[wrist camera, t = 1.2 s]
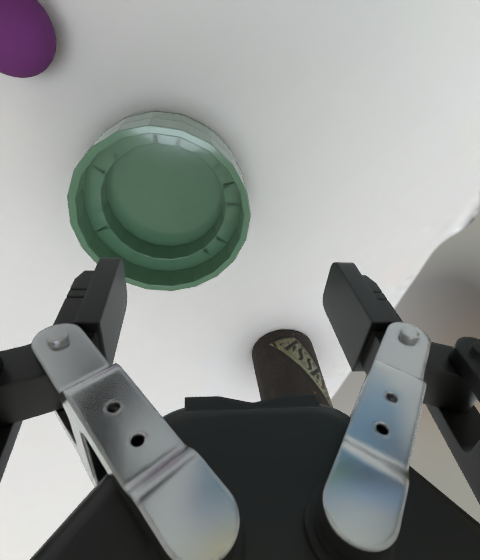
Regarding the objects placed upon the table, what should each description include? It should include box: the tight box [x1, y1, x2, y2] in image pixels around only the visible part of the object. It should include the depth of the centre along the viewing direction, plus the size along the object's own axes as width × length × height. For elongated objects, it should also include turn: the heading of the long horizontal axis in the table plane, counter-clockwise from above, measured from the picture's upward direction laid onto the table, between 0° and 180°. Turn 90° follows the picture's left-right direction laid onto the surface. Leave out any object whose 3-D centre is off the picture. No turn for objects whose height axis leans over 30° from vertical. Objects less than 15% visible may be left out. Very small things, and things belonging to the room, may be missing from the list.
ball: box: [0, 0, 56, 78], centre depth 25 cm, size 6×6×6 cm
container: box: [252, 330, 333, 408], centre depth 42 cm, size 9×9×20 cm
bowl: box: [67, 111, 250, 291], centre depth 33 cm, size 15×15×6 cm
